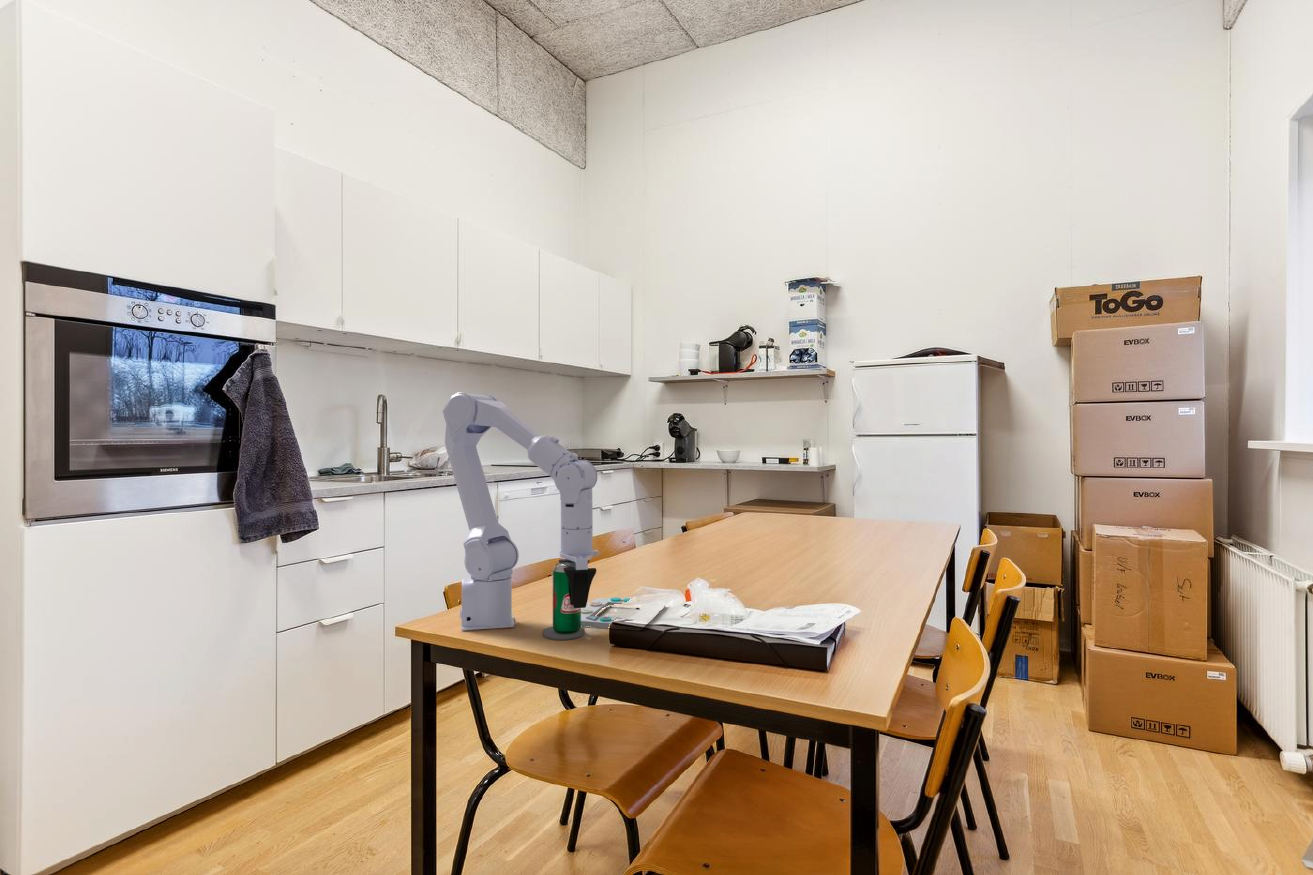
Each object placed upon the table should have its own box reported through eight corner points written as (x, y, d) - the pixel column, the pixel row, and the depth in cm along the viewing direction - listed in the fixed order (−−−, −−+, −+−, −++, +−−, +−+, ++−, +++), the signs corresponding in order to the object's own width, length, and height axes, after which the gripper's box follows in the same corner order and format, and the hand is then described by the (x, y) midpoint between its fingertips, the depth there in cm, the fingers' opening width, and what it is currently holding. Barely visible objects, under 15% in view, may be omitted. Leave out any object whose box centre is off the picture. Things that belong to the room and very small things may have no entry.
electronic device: (641, 622, 125) (564, 617, 129) (641, 635, 125) (564, 629, 129) (665, 599, 143) (597, 595, 147) (665, 610, 143) (597, 606, 147)
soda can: (563, 636, 120) (563, 568, 120) (547, 630, 124) (547, 564, 124) (586, 630, 123) (586, 564, 123) (569, 625, 127) (569, 560, 127)
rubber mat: (544, 641, 119) (544, 638, 119) (541, 629, 126) (541, 626, 126) (587, 638, 121) (587, 635, 121) (581, 626, 128) (581, 623, 128)
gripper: (605, 532, 118) (605, 610, 118) (592, 521, 132) (593, 592, 132) (564, 533, 116) (564, 613, 116) (555, 523, 130) (556, 594, 131)
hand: (577, 602), depth 124 cm, fingers open, 7 cm apart
